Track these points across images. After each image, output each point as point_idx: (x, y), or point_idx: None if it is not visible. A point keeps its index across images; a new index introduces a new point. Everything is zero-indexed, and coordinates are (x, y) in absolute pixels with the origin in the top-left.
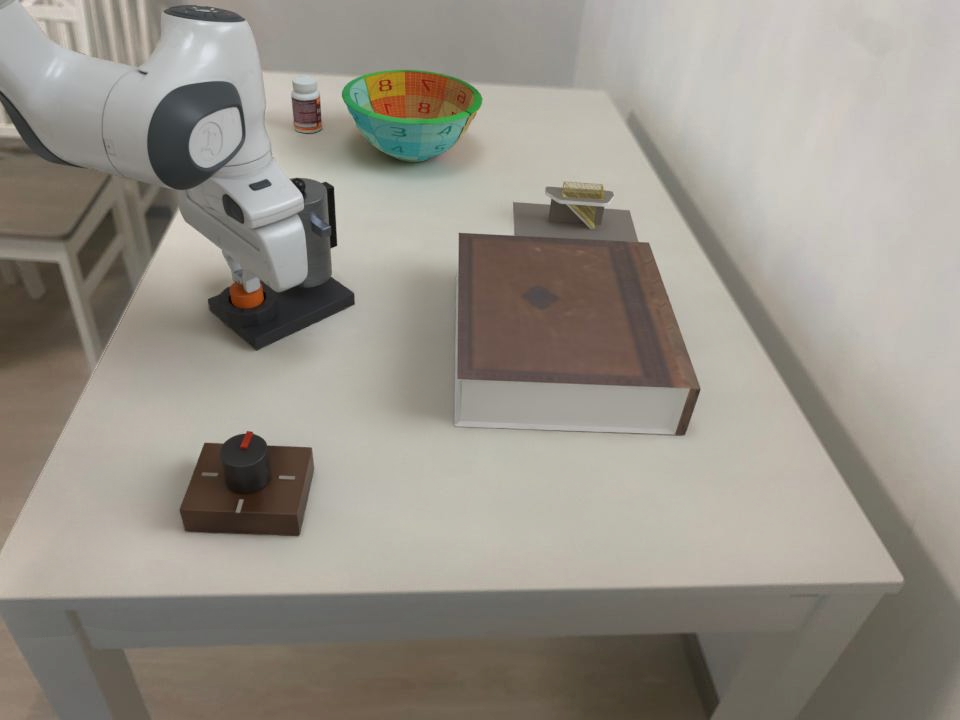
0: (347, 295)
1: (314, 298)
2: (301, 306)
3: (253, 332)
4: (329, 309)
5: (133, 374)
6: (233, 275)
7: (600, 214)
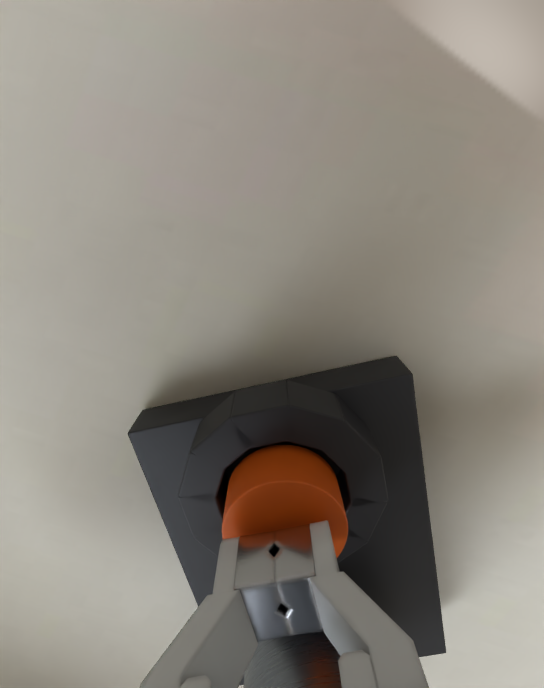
0: None
1: None
2: None
3: (162, 440)
4: None
5: (169, 8)
6: (315, 553)
7: None
